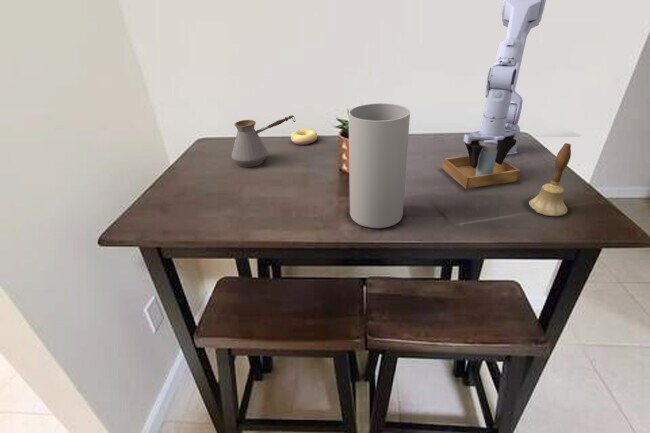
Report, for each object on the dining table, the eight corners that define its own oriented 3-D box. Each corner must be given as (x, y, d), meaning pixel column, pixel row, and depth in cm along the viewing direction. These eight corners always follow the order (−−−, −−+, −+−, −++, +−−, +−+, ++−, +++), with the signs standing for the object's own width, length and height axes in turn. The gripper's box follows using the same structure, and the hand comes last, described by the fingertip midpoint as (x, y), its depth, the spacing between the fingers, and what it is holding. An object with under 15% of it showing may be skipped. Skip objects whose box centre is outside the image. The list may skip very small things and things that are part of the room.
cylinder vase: (389, 235, 84) (395, 124, 71) (340, 221, 90) (337, 116, 77) (410, 209, 93) (419, 107, 80) (364, 198, 99) (365, 101, 86)
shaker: (486, 171, 108) (492, 140, 103) (495, 177, 104) (502, 146, 99) (472, 173, 107) (477, 142, 102) (481, 179, 103) (486, 148, 99)
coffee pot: (228, 169, 118) (219, 122, 111) (239, 155, 128) (231, 110, 120) (296, 169, 116) (291, 121, 108) (301, 155, 126) (298, 109, 118)
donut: (289, 150, 136) (312, 148, 132) (285, 138, 133) (309, 136, 129) (299, 136, 143) (322, 134, 139) (295, 125, 140) (319, 123, 136)
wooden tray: (489, 163, 113) (491, 152, 112) (517, 182, 102) (520, 170, 100) (442, 170, 111) (443, 158, 109) (465, 190, 100) (467, 178, 98)
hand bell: (563, 201, 93) (584, 138, 85) (570, 218, 86) (592, 152, 78) (526, 197, 95) (542, 136, 87) (529, 214, 89) (547, 149, 80)
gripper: (477, 123, 92) (469, 174, 100) (531, 117, 95) (518, 167, 102) (462, 115, 98) (455, 164, 105) (513, 109, 101) (503, 157, 108)
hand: (485, 165), depth 104 cm, fingers open, 7 cm apart
